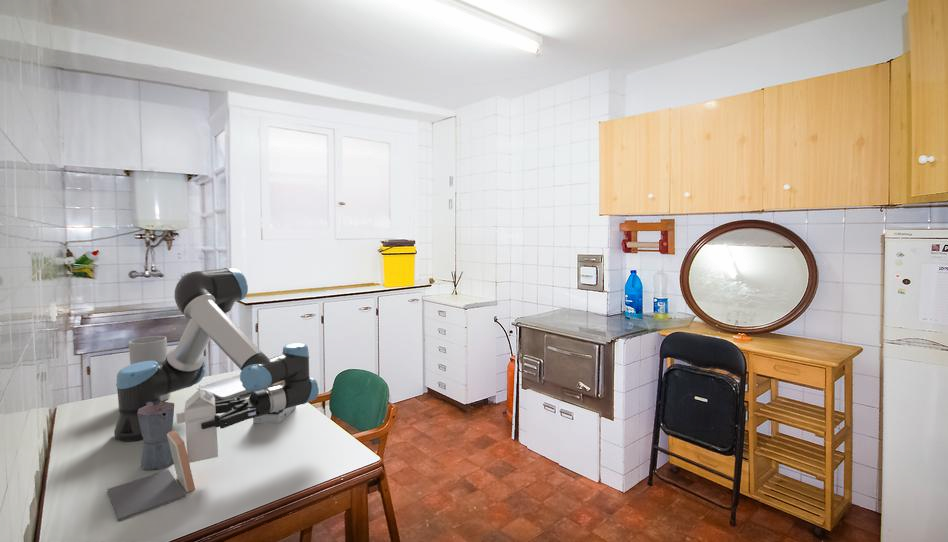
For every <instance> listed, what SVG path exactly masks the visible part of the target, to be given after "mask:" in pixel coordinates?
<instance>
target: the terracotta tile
mask: <svg viewBox="0 0 948 542" xmlns="http://www.w3.org/2000/svg"><path fill="white" fill-rule="evenodd" d="M167 438H168V442H169V446H170V450H171V454H172V458H173V463H172V464H173V466H174V469H175V474H176V479H177V480H178V481H179V483H180V484H181V486H182V487H183V489H184V490H185V492H186V493H187V492H188V493H190V492H192V491H194V490H196V487H195V482H194V478H193V474H192V470H191V465H190V463H189V460H188V456H187V446H186V444H185V441H184V440H183V439H182V437H181V436H180V435H179V434H178V433H177V431H176V430H175V429H174V430H173V429H172V431H171V432H168V434H167Z"/></svg>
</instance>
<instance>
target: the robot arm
mask: <svg viewBox="0 0 948 542" xmlns="http://www.w3.org/2000/svg"><path fill="white" fill-rule="evenodd" d="M248 289H249V287H248V281H247V278H246V276H245V275H244V273H243V272H242V271H240V270H238V269H237V268H235V267H233V268H232V267H231V268H230V267H229V268H227V267H224V268H218V269H216V268H215V269H209V270H206V269H205V270H197V271H196V270H195V271H191V272H189V273H186V274H185V275H183V277H182V276H181V278H180V279H179V280H178V282H177V283H176V286H175V288H174V295H173V296H174V301H175V305H176V307H177V308H178V310H179V311H180V312H181V314H183V316H184V317H185V318H187V319H189V320H188V322H187V325H186V327H185V328H184V329H185V330H184V331H183V333H182V335H181V337H180V340H179V341H178V343H177V346H176V348H173V349H171V350H170V351H169V352H168V355H167V357H166V359H165V361H163V362H159V363H157V362H156V361H143V362H138V363H134V364H131V365H130V364H129V365H126V366H125V367H123V368H121V369H120V370H119V371H118V372H117V374H116V383H115V385H116V386H115V387H116V389H117V390H116V391H117V400H118V411H119V415H118V418H117V421H116V425H115V428H114V433H113V435H114V439H115V440H116V441H118V442H134V441H135V442H136V441H141V440H143V437H142V434H141V429H140V425H139V421H138V416H137V413H138V409H140V408H142V407H144V403H145V401H146V400H148V401H149V402H153V400H154V399H159V401H158V403H159V402H161V399H160V396H163V395H166V394H168V393H170V394H171V393H174V392H177V391H180V390H184V389H188V388H191V387H192V386H194V385H197V384H198V383H200V382H201V381H202V379H203V378H204V376H205V373H206V369H205V368H206V363H205V361H204V359H203V357H202V355H203V354H204V352H205V351H206V348H207V346H208V344H209V342H210V340H212V342H214V343H215V344H216V345H217V346H218V348H219V349H220V350H222V351H223V353H224V354H225V355H226V356H227V357H228V358H229V359H230V360H231V361H232V362H233V363H234V364H235V365H236V366H237V368H238V369H240V374H239V375H240V381H241V382H242V386H243V387H244V388H245V389H246V390H248V391H254V392H251V393H249V398H241V396H238V397H235V398H232V399H227V400H222V399H220V400H217V401H216V400H215V408H216V415H215V420H214V417H210V418H206V419H202V420H198V421H195V422H191V423H187V424H186V427H185V435H186V434H187V435H188V434H191V433H195V432H198V431H202V430H205V429H209V428H212V427H214V426H215V427H217V428H220V429H225V428H228V427H231V426H233V425H236V424H239V423H241V422H244V421H247V420H249V419H253V418H255V417H259V416H262V415H266V414H268V413H269V412H270V413H272V412H279V410H283V409H286V408H290V407H293V406H296V407H297V406H301V405H305V404H308V403H310V402H311V403H312V401H315V400H316V399H317V398H318V396H319V391H320V390H319V386H318V381H317V380H316V379H315V378H314V377H310V355H309V347H308V345H307V344H306V343H301V342H300V343H299V342H297V343H296V342H295V343H289V344H286V345H285V346H283V348H282V354H280V355H277V356H274V357H271V358H269V357H268V356H266V354H265V353H263V351H262V350H261V349H260V348H259V347H258V346H257V345H256V344H255V343H254V342H253V341H252V340H251V339H250V338H249V336H247V334H245V333H244V332H243V330H242V329H240V327H239V326H238V325H237V324H236V323H235V322H234V321H233V320H232V319H231V318H230V317H229V316H228V315H227V314H228V313H229V312H230V311H231V310H232V309H233V307H234V305H235V303H236V302H240V301H242V300H244V299H245V298H246V297H247V295H248V292H249V290H248ZM283 380H284V381H285V384H283V385H278V386H274V387H270V388H267V387H268V386H270V385H273V384H275V383H278V382H280V381H283ZM265 388H266V389H265ZM261 389H262V390H261ZM264 389H265V390H264ZM257 390H258V391H257ZM219 414H220V415H219ZM175 416H176V424H177V425H179V424H182V423H185V412H184V411H182V412H178V413H176V415H175Z"/></svg>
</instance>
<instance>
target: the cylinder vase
mask: <svg viewBox="0 0 948 542" xmlns="http://www.w3.org/2000/svg"><path fill="white" fill-rule="evenodd" d="M167 340H168V339H167V336H165V335H164V336H163V335H153V336H144V337H139V338H135V339H131V340H129V341H128V350H129V351H128V353H129V361H130V362H129V363H130V364H129V365H131V364H134V363H138V362H143V361H156V362H157V363H159V362H163V361H165V359H166V357H167V355H168V353H169V352H168V341H167ZM170 397H171V393H168V394H166V395H163V396H160V399H161V402H165V401H167V400H168V399H169V398H170Z"/></svg>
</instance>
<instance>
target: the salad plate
mask: <svg viewBox="0 0 948 542" xmlns="http://www.w3.org/2000/svg"><path fill="white" fill-rule="evenodd" d="M200 389H201V390H203V391H205V392H207V391H208V392H211V393H212V394H213V395H214V397H215V398H217V399H220V400H227V399H232V398H235V397H241V396H244V395H246V394H247V393H248V394H251V393H252V391H248V390H246V389H245V388H244V387H243V386H242V382H241V381H240V374H237V375H234V376H230V377H226V378H222V379H220V380H216V381H213V382H210V383H206V384H203V385H200ZM196 390H197V391H198V390H199V386H197V387H196ZM250 392H251V393H250Z"/></svg>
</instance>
